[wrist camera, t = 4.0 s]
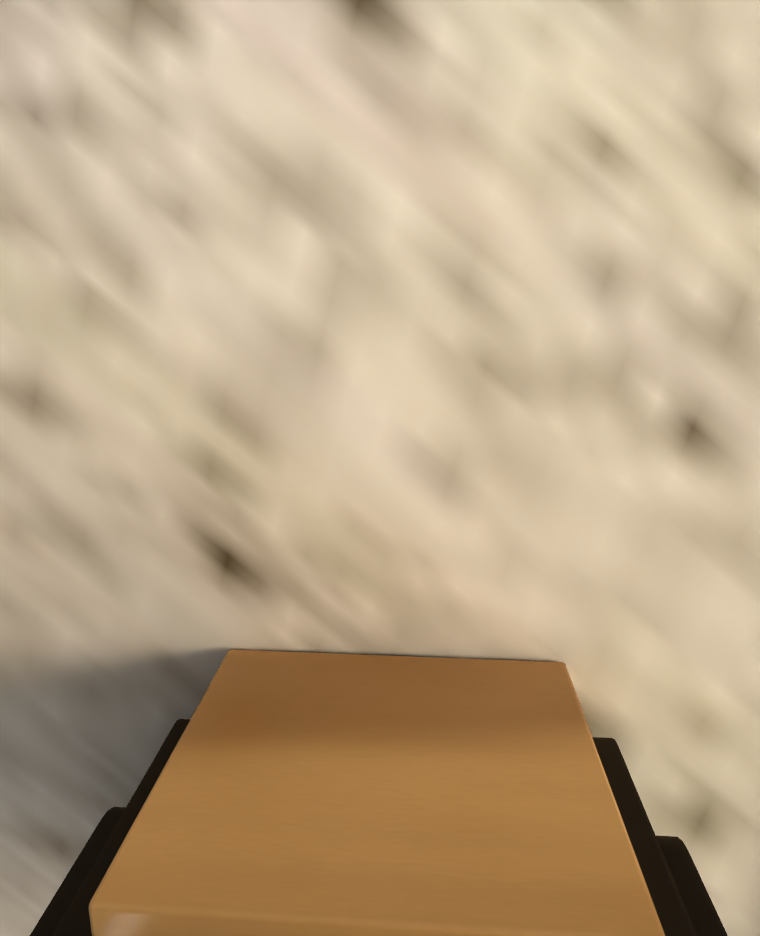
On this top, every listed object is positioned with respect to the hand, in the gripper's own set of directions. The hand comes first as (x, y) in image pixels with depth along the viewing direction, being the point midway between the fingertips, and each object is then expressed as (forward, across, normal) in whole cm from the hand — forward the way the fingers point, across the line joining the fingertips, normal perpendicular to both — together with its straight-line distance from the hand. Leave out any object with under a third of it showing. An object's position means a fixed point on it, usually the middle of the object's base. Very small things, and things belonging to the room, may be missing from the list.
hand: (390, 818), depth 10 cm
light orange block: (0, 0, 0) cm, 0 cm away
